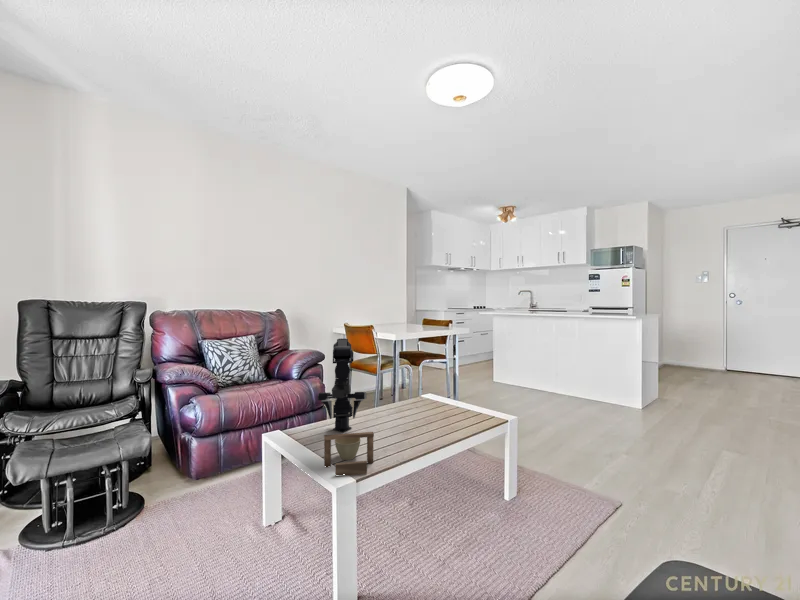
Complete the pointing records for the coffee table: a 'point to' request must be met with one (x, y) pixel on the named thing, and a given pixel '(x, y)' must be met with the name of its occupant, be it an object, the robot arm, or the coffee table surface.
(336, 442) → the flower pot
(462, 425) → the coffee table surface
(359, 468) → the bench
